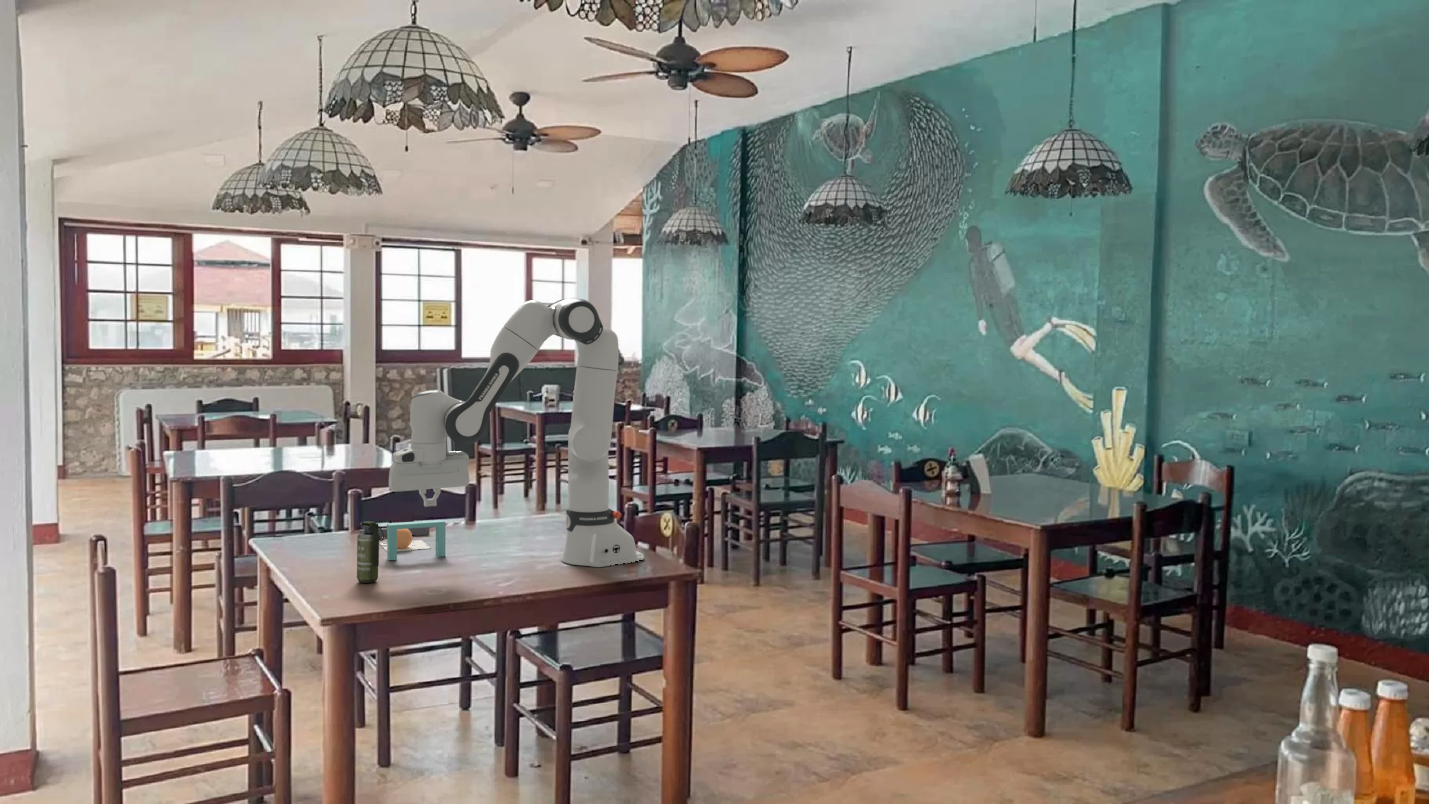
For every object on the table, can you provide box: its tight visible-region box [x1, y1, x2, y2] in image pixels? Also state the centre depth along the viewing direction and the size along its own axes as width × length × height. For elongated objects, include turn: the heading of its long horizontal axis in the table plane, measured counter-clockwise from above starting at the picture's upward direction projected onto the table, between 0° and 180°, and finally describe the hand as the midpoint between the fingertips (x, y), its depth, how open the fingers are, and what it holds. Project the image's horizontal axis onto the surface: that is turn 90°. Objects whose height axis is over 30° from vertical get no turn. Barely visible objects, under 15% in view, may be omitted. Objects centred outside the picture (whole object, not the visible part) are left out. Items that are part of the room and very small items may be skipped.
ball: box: [397, 529, 414, 548], centre depth 309 cm, size 6×6×6 cm
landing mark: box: [379, 539, 432, 552], centre depth 312 cm, size 12×12×1 cm
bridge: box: [386, 519, 447, 561], centre depth 297 cm, size 3×15×10 cm, turn 117°
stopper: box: [358, 527, 430, 539], centre depth 325 cm, size 20×2×2 cm, turn 117°
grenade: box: [356, 520, 385, 584], centre depth 269 cm, size 6×6×15 cm
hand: (430, 505), depth 283 cm, fingers closed
